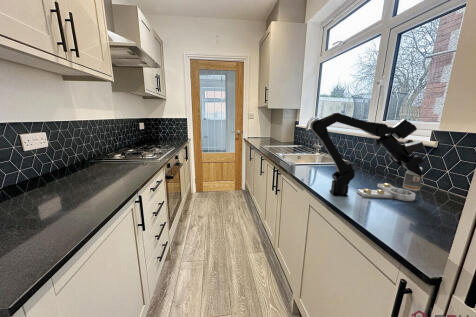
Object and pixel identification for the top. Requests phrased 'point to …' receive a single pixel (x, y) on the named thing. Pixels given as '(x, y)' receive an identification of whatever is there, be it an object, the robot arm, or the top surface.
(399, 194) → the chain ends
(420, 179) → the pill bottle
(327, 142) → the robot arm
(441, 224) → the top surface
